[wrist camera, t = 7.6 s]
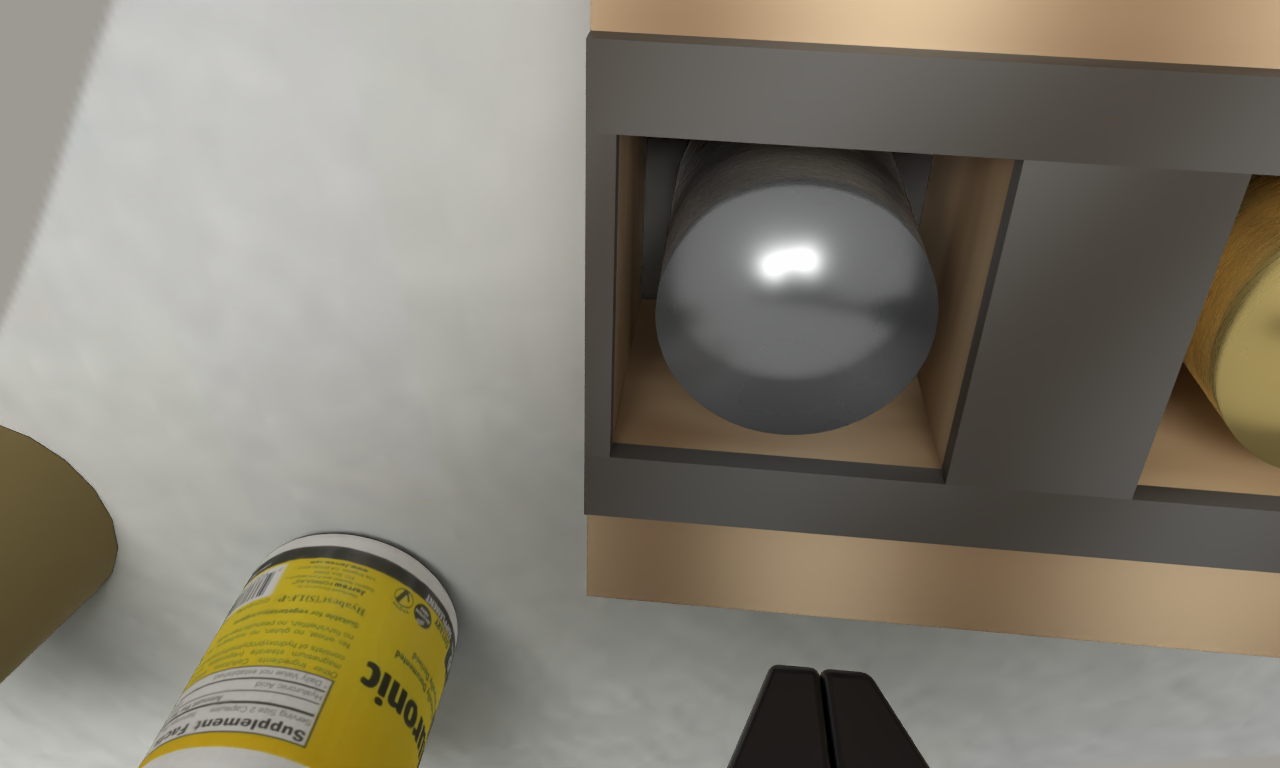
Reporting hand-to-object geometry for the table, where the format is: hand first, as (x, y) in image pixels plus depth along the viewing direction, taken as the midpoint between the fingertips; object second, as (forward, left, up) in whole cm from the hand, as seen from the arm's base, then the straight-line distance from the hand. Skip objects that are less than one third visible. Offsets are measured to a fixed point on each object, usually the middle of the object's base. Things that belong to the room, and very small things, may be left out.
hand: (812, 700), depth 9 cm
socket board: (-4, 0, -12) cm, 13 cm away
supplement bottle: (+9, +12, -12) cm, 20 cm away
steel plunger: (0, 0, -12) cm, 12 cm away
